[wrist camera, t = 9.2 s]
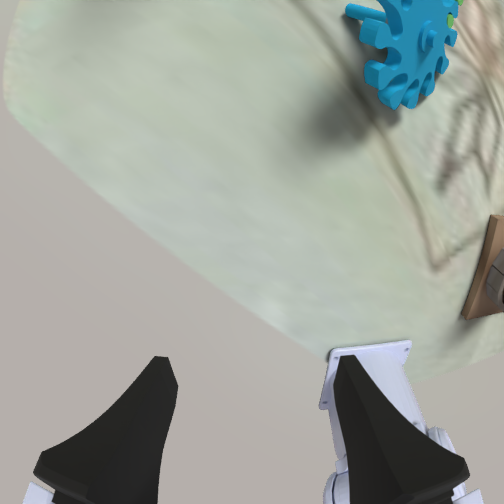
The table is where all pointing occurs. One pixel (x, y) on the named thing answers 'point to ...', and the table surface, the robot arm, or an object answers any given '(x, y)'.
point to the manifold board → (488, 275)
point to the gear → (406, 46)
